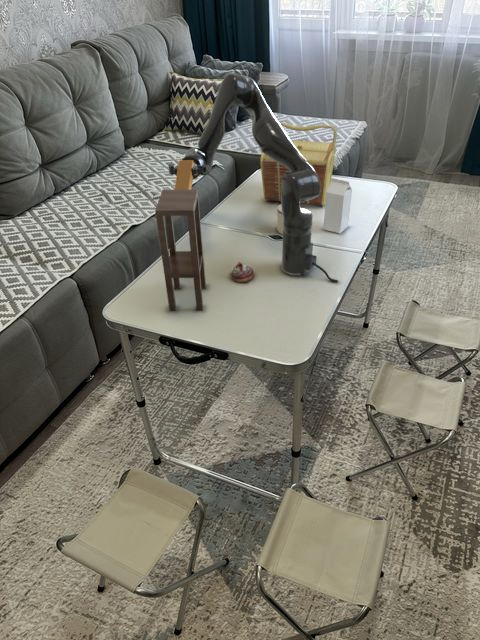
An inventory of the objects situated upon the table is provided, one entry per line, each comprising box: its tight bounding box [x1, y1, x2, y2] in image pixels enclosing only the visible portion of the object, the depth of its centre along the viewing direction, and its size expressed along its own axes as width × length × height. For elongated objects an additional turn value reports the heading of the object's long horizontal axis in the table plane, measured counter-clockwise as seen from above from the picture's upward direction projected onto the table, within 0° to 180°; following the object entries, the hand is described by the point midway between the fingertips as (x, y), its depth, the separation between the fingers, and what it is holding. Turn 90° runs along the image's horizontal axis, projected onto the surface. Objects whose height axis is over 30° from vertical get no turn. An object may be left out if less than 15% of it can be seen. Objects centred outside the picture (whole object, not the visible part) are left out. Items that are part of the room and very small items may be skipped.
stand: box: [154, 189, 207, 312], centre depth 149 cm, size 14×10×32 cm
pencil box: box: [173, 159, 194, 190], centre depth 157 cm, size 22×4×3 cm, turn 179°
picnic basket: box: [259, 121, 338, 207], centre depth 210 cm, size 29×26×30 cm
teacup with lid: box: [276, 203, 302, 235], centre depth 192 cm, size 12×9×12 cm
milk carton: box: [322, 177, 353, 234], centre depth 190 cm, size 7×7×19 cm
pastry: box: [230, 261, 255, 283], centre depth 167 cm, size 8×8×5 cm
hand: (184, 172), depth 159 cm, fingers closed on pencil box, 4 cm apart
